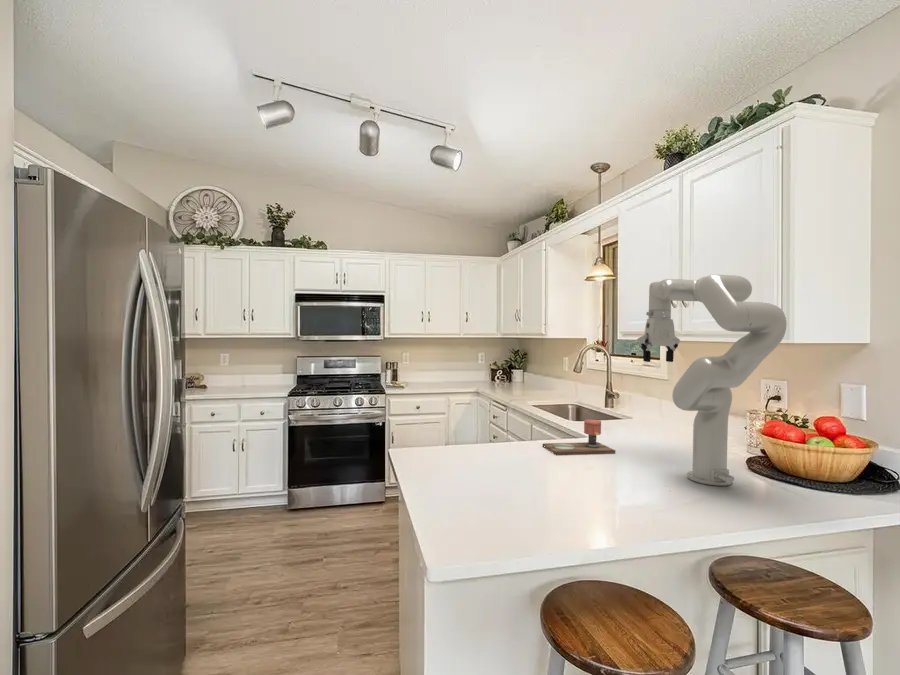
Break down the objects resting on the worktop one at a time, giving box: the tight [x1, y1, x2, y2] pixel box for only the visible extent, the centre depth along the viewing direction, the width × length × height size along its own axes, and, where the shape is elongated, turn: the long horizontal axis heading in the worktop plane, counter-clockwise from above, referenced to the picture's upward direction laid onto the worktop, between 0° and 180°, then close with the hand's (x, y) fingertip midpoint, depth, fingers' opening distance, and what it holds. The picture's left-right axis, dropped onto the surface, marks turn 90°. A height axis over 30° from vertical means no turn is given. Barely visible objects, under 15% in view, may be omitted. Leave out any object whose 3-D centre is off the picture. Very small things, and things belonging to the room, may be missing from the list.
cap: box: [583, 418, 602, 436], centre depth 184 cm, size 8×6×5 cm
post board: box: [542, 434, 616, 456], centre depth 183 cm, size 14×24×10 cm, turn 100°
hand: (658, 361), depth 172 cm, fingers open, 9 cm apart
